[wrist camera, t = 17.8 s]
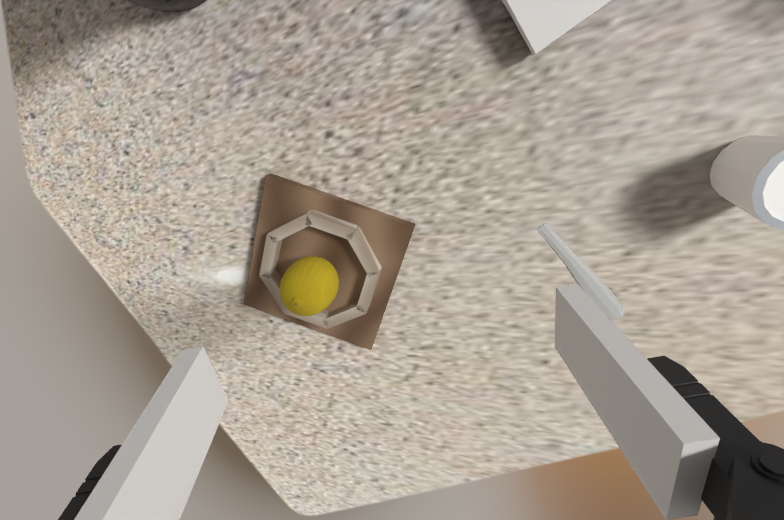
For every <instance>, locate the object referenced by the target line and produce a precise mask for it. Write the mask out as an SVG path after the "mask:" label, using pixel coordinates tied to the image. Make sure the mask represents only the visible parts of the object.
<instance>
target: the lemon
mask: <svg viewBox="0 0 784 520" xmlns="http://www.w3.org/2000/svg"><path fill="white" fill-rule="evenodd" d="M338 288H339V278H338V273H337V271H336V269H335V268H334V266H333V265H332V264H331V263H330V262H329V261H327V260H326V259H324V258H321V257H317V256H308V257H303V258H301V259H299V260H297V261H295V262H294V263H293V264H292V265H291V266H290V267H289V268H288V269H287V270H286V272H285V273H284V275H283V277H282V279H281V283H280V290H279V291H280V297H281V300H282V303H283V304H284V306H285V307H286V308H287V309H288V310H289V311H291V312H292V313H294V314H296V315H299V316H312V315H315V314H318V313H320V312H321V311H323V310H324V309H326V308H327V307H328V306H329V305H330V304H331V303H332V301H333V300H334V299H335V296H336V294H337V292H338Z"/></svg>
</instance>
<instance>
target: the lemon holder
mask: <svg viewBox="0 0 784 520" xmlns="http://www.w3.org/2000/svg"><path fill="white" fill-rule="evenodd" d="M414 226H415V224H414V223H411V222H408V221H405V220H403V219H400V218H397V217H394V216H391V215H388V214H385V213H382V212H380V211H377V210H374V209H371V208H368V207H365V206H362V205H360V204H357V203H354V202H351V201H348V200H345V199H342V198H340V197H337V196H334V195H331V194H328V193H325V192H322V191H320V190H317V189H314V188H311V187H308V186H305V185H302V184H300V183H297V182H294V181H291V180H288V179H285V178H282V177H279V176H277V175H274V174H268V175H266V177H265V183H264V189H263V195H262V200H261V206H260V212H259V218H258V224H257V229H256V235H255V241H254V247H253V253H252V258H251V264H250V270H249V276H248V282H247V287H246V293H245V299H244V304H245V305H248V306H250V307H253V308H256V309H259V310H261V311H264V312H267V313H270V314H273V315H275V316H278V317H281V318H284V319H286V320H289V321H292V322H295V323H298V324H300V325H303V326H306V327H309V328H311V329H314V330H317V331H320V332H323V333H325V334H328V335H331V336H334V337H337V338H339V339H342V340H345V341H348V342H350V343H353V344H356V345H359V346H362V347H364V348H367V349H370V350H371V349H372V346H373V343H374V340H375V337H376V334H377V332H378V329H379V326H380V323H381V320H382V317H383V315H384V312H385V309H386V306H387V303H388V300H389V297H390V295H391V292H392V289H393V286H394V283H395V280H396V278H397V275H398V272H399V269H400V266H401V263H402V261H403V258H404V255H405V252H406V249H407V246H408V243H409V241H410V238H411V235H412V232H413V229H414ZM308 256H317V257H321V258H324V259H326V260H327V261H329V262H330V263H331V264H332V265H333V266H334V268H335V269H336V271H337V273H338V278H339V288H338V292H337V294H336V296H335V299H334V300H333V301H332V303H331V304H330V305H329V306H328V307H327V308H326V309H324V310H323V311H321V312H320V313H318V314H315V315H312V316H299V315H296V314H294V313H292V312H291V311H289V310H288V309H287V308H286V307H285V306H284V304H283V303H282V300H281V297H280V291H279V290H280V283H281V279H282V277H283V275H284V273H285V272H286V270H287V269H288V268H289V267H290V266H291V265H292V264H293V263H294V262H295V261H297V260H299V259H301V258H303V257H308Z"/></svg>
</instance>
